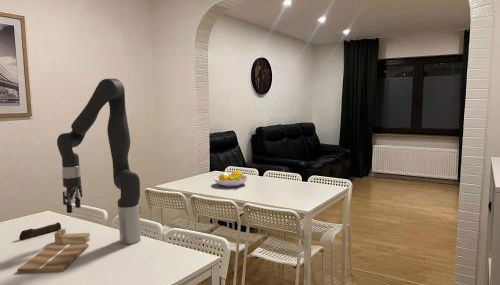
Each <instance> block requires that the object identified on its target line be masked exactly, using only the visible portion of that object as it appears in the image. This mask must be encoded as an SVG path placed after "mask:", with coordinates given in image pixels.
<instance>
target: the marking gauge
mask: <svg viewBox="0 0 500 285" xmlns="http://www.w3.org/2000/svg"><path fill="white" fill-rule="evenodd" d="M53 235H54V245H64V244H88V243H89V242H90V241H91V234H90V232H73V233H71V232H70V233H67V231H66V228H61V229H60V230H56V231H54V233H53Z"/></svg>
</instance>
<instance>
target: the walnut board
mask: <svg viewBox="0 0 500 285" xmlns="http://www.w3.org/2000/svg"><path fill="white" fill-rule="evenodd" d="M88 248H89V243H72V244H59V245H55V244H49V245H48V246H47V247H45V248H44V249H43V250H42V251H40V252H38V253H37V254H36V255H34V256H33V257H32V258H30V259H29V260H28V261H27V262H25V263H24V264H22V265H21V266H19V267H18V268H17V274H29V273H32V274H33V273H55V272H56V273H58V272H62V273H63V271H65V270H66V269H67V268H68V267H69V266H70V265H71V264H72V263H73V262H74V261H75V260H76V259H77V258H79V256H81V254H82V255H83V253H84V252H85V251H86V250H87V249H88Z"/></svg>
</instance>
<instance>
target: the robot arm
mask: <svg viewBox="0 0 500 285" xmlns="http://www.w3.org/2000/svg"><path fill="white" fill-rule="evenodd" d="M125 92H126V91H125V86H124V84H123V83H122V81H121V80H120V79H117V78H104V79H102V80H101V81H99V83H98V84H97V86H96V87H95V89H94V91H93V93H92V95H91V97H90V99H89V100H88V102H87V103H86V105H85V106H84V108H83V109H82V111H80V113H79V114H78V115H77V117H76V118H75V119H74V121H73V122H72V123H71V125H70V127H71V131H69V132H64V133H61V134H59V135H58V137H57V139H56V145H57V148H58V151H59V155H60V157H61V166H62V170H61V174H62V177H61V178H62V187H64V188H66V190H65V191H62V205H63V206H65V208H66V214H72V213H73V201H74V208H76V209H79V208H81V207H82V206H81V199H82V198H83V188H82V187H83V186H82V178H81V177H82V176H81V175H82V174H81V167H80V156H79V154H78V153H76V152H74V150H73V148H77V147H78V146H79V145H81V143H82V142H83V140H84V138H85V136H86V134H87V133H88V131H89V130H90V129H91V127H92V126H93V125H94V124H95V122H96V120H97V118H98V116H99V114H100V111H101V110H102V108H103V107H104V106H105V105H106V104H107V103H108V105H109V117H108V120H107V129H106V130H107V137H108V138H107V139H108V145H109V149H110V154H111V155H110V156H111V160H112V174H113V175H112V177H113V184H114V185H115V187H116V188H117V189H119V190H120V198H119V199H117V213H118V228H119V229H118V231H119V242H120V244H122V245H132V244H136V243H138V242H140V241H141V237H142V236H141V222H140V202H139V201H140V198H141V181H140V176H139V175H138V174H137V173H136V172H134V171H132V170H131V168H130V165H129V163H130V162H129V153H130V149H131V137H130V136H131V135H130V129H129V128H130V127H129V123H128V116H127V110H126V93H125Z"/></svg>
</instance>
